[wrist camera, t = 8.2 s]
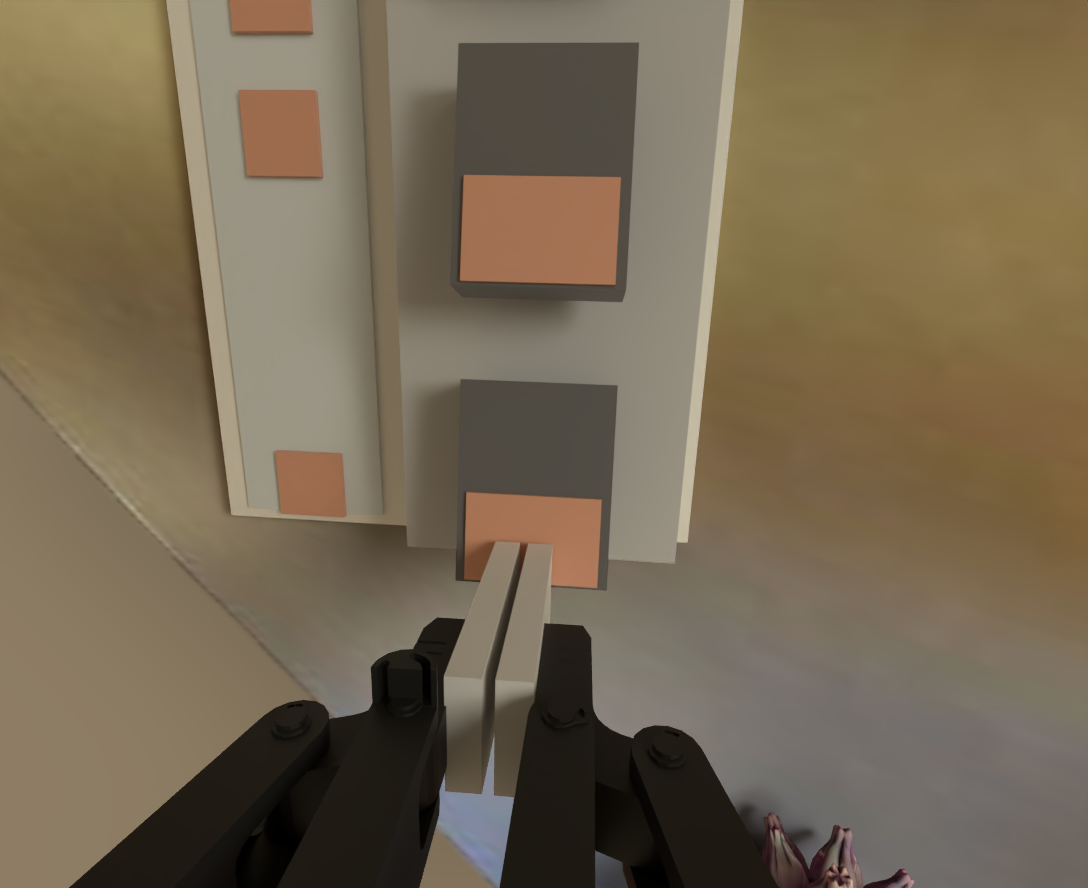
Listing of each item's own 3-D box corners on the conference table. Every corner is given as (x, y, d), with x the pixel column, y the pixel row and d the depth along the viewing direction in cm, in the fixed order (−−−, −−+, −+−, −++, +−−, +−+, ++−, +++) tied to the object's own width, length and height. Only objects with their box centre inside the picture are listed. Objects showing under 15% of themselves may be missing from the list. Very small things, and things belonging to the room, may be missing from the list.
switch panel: (159, -208, 19) (48, -338, 15) (760, -231, 17) (809, -381, 14) (245, 506, 26) (183, 544, 22) (683, 532, 24) (700, 577, 20)
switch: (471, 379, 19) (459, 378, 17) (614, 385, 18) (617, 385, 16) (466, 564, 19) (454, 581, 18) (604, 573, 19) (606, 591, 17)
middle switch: (470, 79, 16) (457, 39, 15) (633, 79, 16) (639, 39, 14) (462, 297, 17) (448, 283, 15) (622, 302, 16) (626, 288, 15)
